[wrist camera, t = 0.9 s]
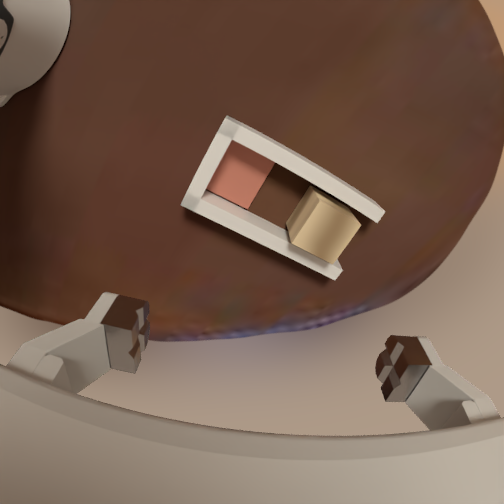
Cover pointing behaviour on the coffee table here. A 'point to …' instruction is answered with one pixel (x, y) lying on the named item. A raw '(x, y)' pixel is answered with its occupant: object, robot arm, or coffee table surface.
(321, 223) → the block
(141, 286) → the coffee table surface
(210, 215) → the channel
